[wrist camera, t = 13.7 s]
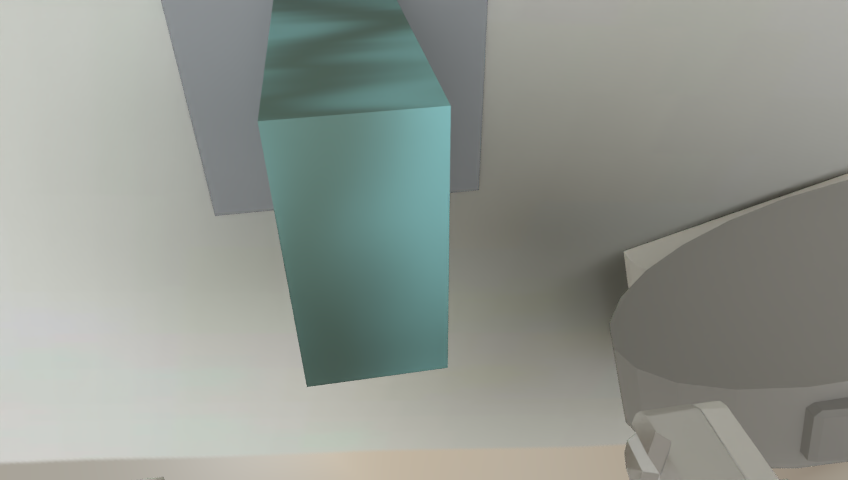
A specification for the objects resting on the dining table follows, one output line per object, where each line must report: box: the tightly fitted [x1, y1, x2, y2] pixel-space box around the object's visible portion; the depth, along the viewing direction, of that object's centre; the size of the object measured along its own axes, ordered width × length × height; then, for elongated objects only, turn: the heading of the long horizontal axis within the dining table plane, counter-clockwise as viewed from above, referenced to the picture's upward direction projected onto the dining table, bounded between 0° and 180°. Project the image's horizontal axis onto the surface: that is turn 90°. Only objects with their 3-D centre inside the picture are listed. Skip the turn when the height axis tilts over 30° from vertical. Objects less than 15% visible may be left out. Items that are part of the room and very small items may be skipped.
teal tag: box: [258, 0, 451, 387], centre depth 20 cm, size 4×8×12 cm, turn 1°
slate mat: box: [161, 0, 488, 216], centre depth 25 cm, size 12×11×1 cm
